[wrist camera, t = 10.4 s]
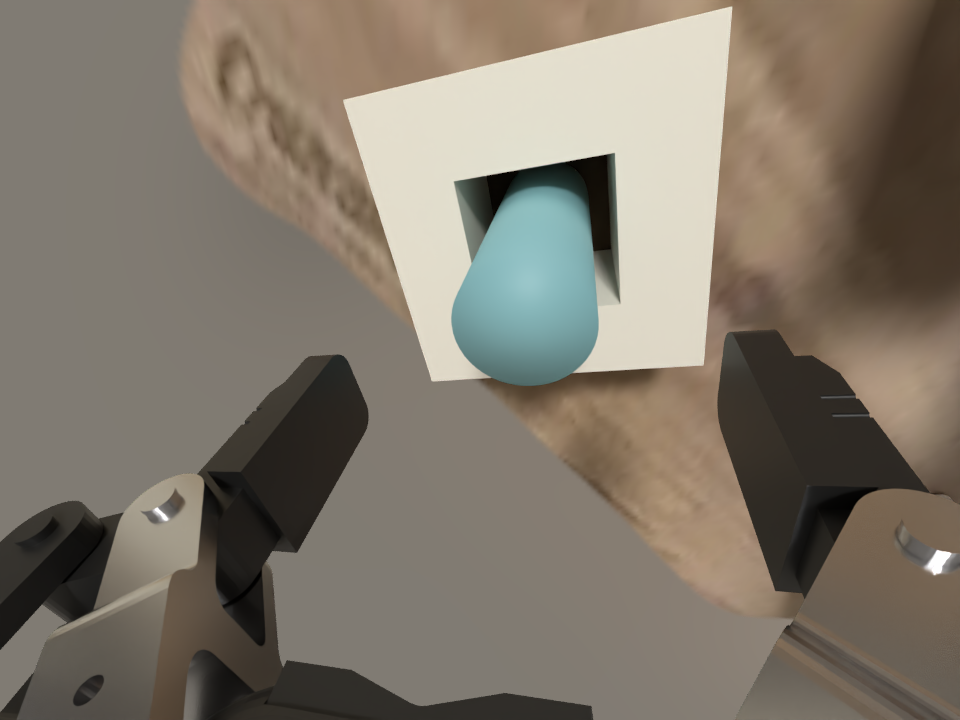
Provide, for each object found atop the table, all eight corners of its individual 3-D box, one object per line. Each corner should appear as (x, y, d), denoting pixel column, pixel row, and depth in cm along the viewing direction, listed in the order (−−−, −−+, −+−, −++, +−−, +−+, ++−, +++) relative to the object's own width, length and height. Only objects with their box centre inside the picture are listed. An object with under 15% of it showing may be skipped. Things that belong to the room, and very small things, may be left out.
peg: (585, 151, 20) (593, 248, 11) (591, 237, 23) (602, 382, 13) (499, 167, 21) (435, 268, 12) (512, 248, 24) (468, 389, 14)
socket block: (688, 17, 17) (731, 6, 12) (677, 299, 24) (703, 365, 19) (398, 87, 20) (343, 100, 15) (458, 320, 27) (432, 381, 22)
